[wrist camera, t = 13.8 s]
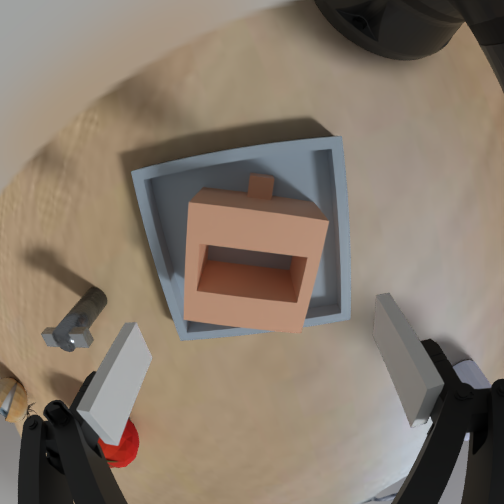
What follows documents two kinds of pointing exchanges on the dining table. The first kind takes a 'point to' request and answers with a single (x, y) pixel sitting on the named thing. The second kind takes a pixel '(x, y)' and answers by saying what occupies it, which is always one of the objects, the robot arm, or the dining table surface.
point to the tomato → (122, 447)
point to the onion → (13, 400)
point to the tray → (237, 178)
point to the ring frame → (257, 239)
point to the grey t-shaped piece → (77, 323)
